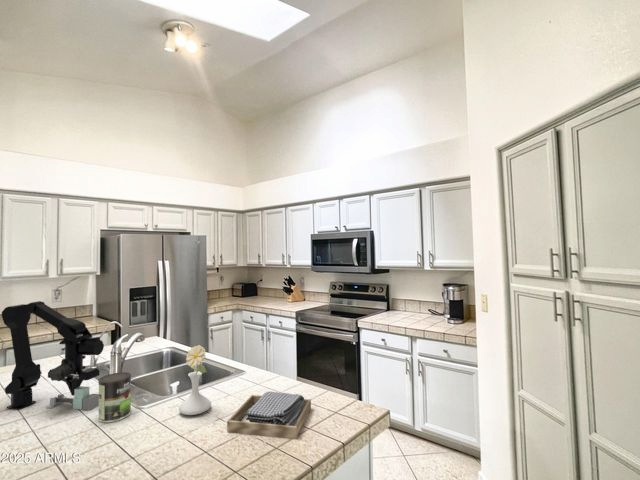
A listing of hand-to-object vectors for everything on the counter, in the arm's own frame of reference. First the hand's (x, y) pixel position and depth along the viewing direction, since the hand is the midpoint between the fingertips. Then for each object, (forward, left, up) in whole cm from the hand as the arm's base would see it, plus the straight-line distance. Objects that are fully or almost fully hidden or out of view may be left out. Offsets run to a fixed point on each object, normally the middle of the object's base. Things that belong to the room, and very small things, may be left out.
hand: (73, 395), depth 132 cm
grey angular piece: (0, 0, -4) cm, 4 cm away
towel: (+82, +3, -5) cm, 82 cm away
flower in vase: (+50, +4, -4) cm, 51 cm away
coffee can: (+22, -4, -4) cm, 23 cm away
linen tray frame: (+80, +3, -4) cm, 81 cm away
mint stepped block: (+4, 0, -4) cm, 6 cm away
